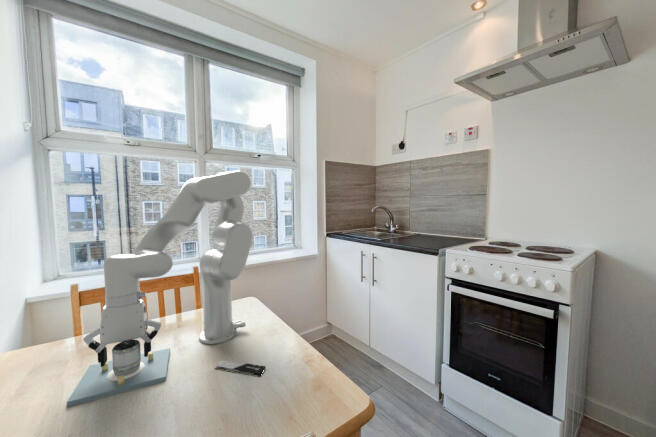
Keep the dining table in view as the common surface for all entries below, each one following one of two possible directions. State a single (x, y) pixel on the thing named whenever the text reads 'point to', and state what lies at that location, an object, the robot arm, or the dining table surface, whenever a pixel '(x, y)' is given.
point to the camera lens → (126, 357)
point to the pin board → (120, 378)
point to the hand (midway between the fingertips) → (126, 359)
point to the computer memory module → (241, 368)
